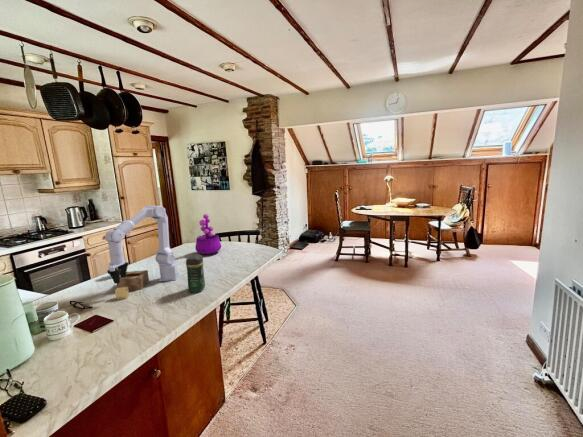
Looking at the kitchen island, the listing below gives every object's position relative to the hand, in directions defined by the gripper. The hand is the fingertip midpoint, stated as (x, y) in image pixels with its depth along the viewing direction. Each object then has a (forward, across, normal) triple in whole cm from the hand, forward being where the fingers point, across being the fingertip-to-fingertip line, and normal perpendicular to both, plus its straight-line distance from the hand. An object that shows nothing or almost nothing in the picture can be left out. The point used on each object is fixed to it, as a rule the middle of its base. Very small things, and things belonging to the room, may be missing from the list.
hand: (120, 280), depth 145 cm
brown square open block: (+9, -15, 0) cm, 18 cm away
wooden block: (+10, 0, 0) cm, 10 cm away
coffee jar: (+10, -2, +36) cm, 37 cm away
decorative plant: (+10, -70, +34) cm, 78 cm away
